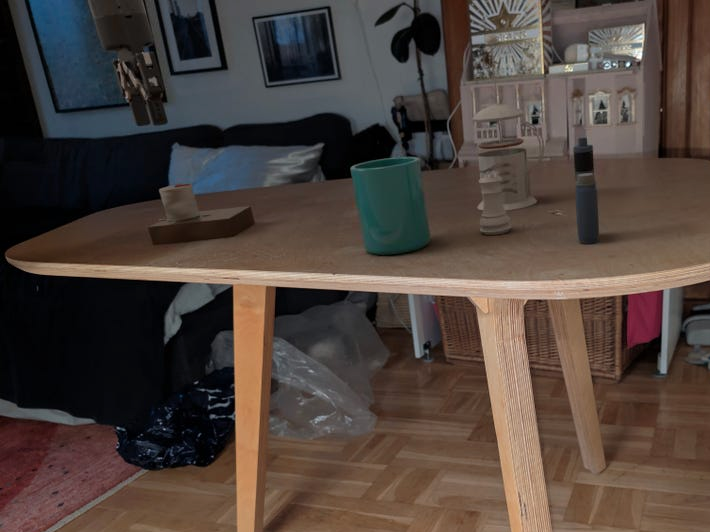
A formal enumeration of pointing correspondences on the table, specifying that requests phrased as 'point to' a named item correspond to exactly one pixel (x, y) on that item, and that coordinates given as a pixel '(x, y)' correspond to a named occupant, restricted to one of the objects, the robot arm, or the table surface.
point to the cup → (391, 205)
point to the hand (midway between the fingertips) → (152, 125)
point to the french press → (507, 153)
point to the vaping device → (586, 193)
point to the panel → (203, 226)
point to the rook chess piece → (493, 206)
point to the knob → (179, 202)
